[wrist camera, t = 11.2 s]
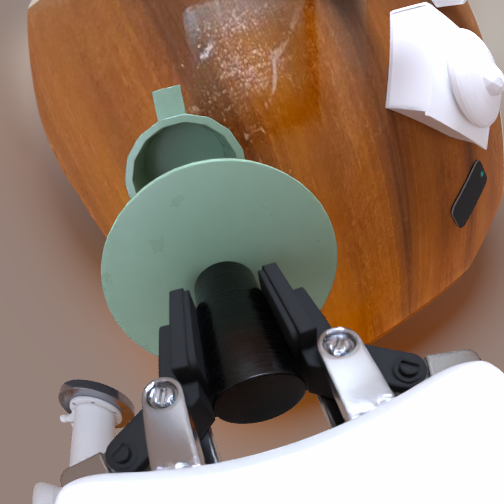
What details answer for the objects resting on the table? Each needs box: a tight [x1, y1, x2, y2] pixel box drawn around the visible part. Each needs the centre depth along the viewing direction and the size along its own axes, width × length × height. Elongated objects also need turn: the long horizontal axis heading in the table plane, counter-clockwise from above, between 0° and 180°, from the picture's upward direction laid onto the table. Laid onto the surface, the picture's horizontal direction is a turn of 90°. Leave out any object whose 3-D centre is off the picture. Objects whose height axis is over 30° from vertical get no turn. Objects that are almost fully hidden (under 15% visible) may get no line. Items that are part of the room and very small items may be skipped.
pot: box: [125, 85, 245, 200], centre depth 25 cm, size 10×16×8 cm, turn 11°
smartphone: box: [451, 160, 487, 228], centre depth 42 cm, size 8×1×15 cm
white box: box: [385, 2, 504, 150], centre depth 23 cm, size 18×18×16 cm
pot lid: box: [101, 158, 337, 424], centre depth 10 cm, size 11×11×7 cm
